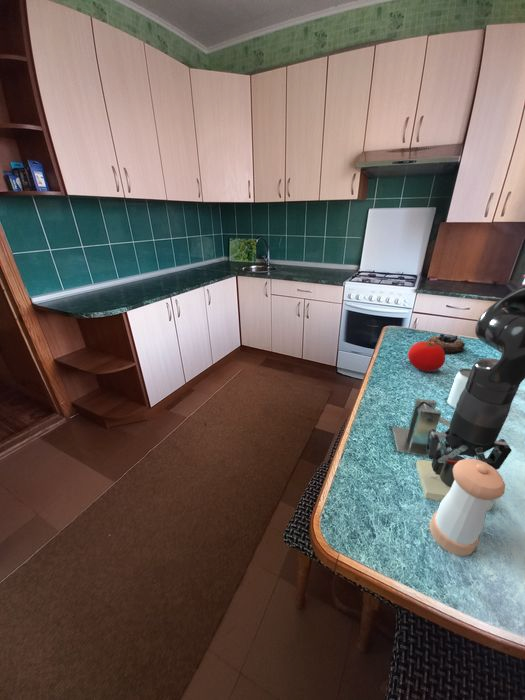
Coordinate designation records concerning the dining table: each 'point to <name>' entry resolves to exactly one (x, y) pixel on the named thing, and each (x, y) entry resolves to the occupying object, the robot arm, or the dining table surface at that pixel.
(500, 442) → the robot arm
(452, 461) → the dial knob
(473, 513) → the pepper shaker
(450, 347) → the pastry
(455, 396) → the can
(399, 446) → the bracket
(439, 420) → the tap lever
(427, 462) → the dial panel
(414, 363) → the tomato
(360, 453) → the dining table surface
